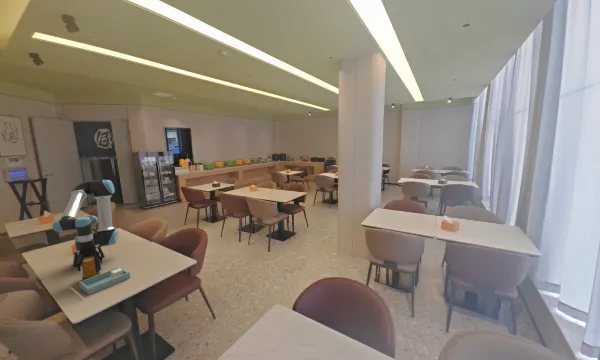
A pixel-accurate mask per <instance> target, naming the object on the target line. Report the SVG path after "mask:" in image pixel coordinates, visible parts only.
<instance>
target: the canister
mask: <svg viewBox="0 0 600 360" xmlns="http://www.w3.org/2000/svg"><path fill="white" fill-rule="evenodd" d="M94 251H95V252H96V253H97V254H96V253H94V252H92V251H89V254H86V255H85V256H84V258H83V261H82V263H81V266H82V269H83V276H82V275H81V277H82V280H85V279H88V278H91V277H93V276H96V275H99V274H101V271H102V266H101V267H100V260H99V254H100V253H99V251H98V250H97V251H96V250H94ZM80 254H81V253H80Z"/></svg>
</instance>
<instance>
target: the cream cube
mask: <svg viewBox="0 0 600 360" xmlns="http://www.w3.org/2000/svg"><path fill="white" fill-rule="evenodd" d="M120 275H123V270H122V269H120V268H118V269H116V270H113V271H111V277H112V279H113V278H115V277H118V276H120Z"/></svg>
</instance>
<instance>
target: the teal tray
mask: <svg viewBox="0 0 600 360" xmlns="http://www.w3.org/2000/svg"><path fill="white" fill-rule="evenodd" d="M118 268H120V269H122V270H123V275H120V276H118V277H115V278H113V279H112V277H111V271H113V270H116V269H118ZM130 278H131V272H130V271H129V270H126V269H124V268H123V267H121V266H118V267H116V268H112V269H109V270H107V271H104V272H102V273H101V272H100V274H99V275H96V276H93V277H91V278H88V279H85V280H83V279H82V280H80V281H79V282H78V283H79V284H78V285H79V288H80V289H81V290H83V291H84V292H85V293H86V294H87V295H89V296H90V295H92V294H95V293H96V292H98V291H99V292H100V291H103V290H104V289H106V288H109V287H111V286H114V285H116V284H118V283H120V282H124V281H125V280H126V281H127V279H130Z"/></svg>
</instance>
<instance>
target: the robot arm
mask: <svg viewBox="0 0 600 360" xmlns="http://www.w3.org/2000/svg"><path fill="white" fill-rule="evenodd" d="M115 192H116V191H115V186H114V183H113V181H112V180H110V179H99V180H98V179H97V180H86V181H83V182H81V183H79V184H78V185H77V184H76V185H75V186H74V188H73V189H72V190H71V192H70V198H69V200H68V202H67V204H66V207H65V209H64V211H63V213H62V214H61V215H62V216H61V218H60V219H58V220H55V221H53V223H52V230H53V231H54V232H67V231H73V230H75V231H76V236H75V237H74V244H75V245H74V246H75V249H76V251H73V261H72V262H73V263H72V266H73V268H77V271H78V272H79V273H80V276H81V277H82V276H83V269H82V266H81V263H82V261H83V258H84V256H85V255H86V254H89V251H92V252H94V253H96V252H95V251H94V250H96V251H98V252H99V260H100V267H101V268H102V265H101V264H103V258H106V257H105V254H104V252H103V250H102V248H103V247H107V246H108V247H110V246H113V245H115V244H116V245H117V242H118V240H119V230H117V229H116V227H115V226H113V225H114V224H113V215H112V206H111V204H112V203H111V198H112V197H113V194H115ZM89 196H93V198H94V199H96V208H97V209H96V210H97V216H95V215H88V216H84V217H83V216H82V217H79V218H78V215H79V212H80V210H81V207H82V205H83V202H84V200H86V198H87V197H89ZM97 224H98V229H97V231H96V232H95V231H93V227H95V226H97ZM101 247H102V248H101ZM80 253H81V254H80ZM96 254H97V253H96Z"/></svg>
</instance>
